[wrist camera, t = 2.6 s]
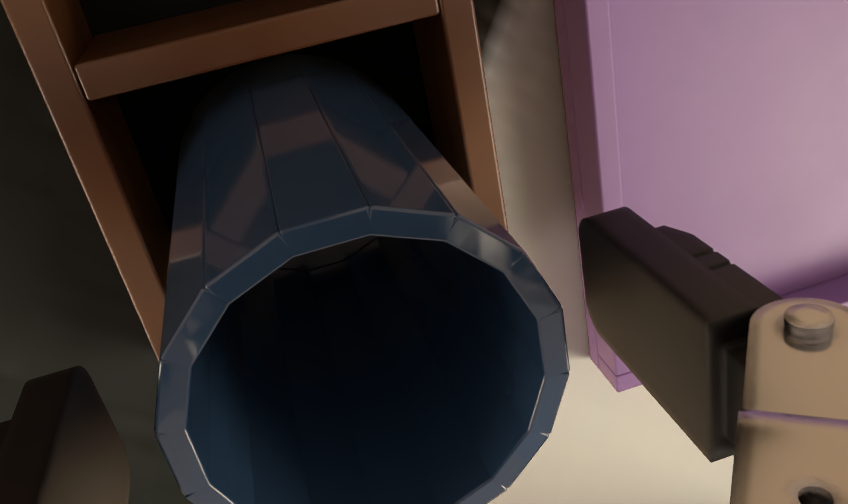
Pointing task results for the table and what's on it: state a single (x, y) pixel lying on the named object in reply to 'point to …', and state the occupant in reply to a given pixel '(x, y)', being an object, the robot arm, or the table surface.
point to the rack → (214, 49)
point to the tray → (714, 132)
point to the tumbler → (343, 306)
